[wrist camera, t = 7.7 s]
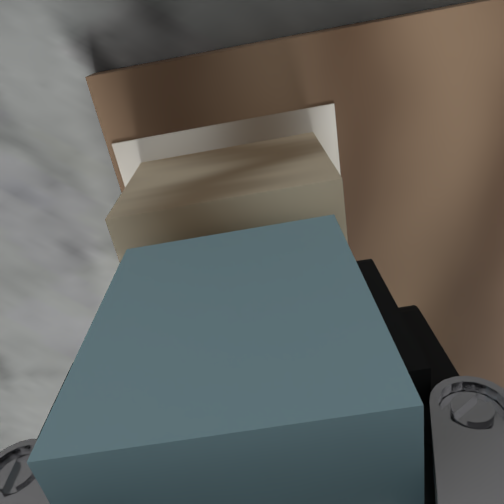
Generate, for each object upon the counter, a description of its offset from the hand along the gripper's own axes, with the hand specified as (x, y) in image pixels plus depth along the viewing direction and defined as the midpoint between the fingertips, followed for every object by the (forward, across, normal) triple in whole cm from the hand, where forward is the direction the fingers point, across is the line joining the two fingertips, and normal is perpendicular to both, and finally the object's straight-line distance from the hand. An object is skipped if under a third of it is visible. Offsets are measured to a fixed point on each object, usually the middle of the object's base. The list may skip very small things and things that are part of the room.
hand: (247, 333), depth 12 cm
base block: (+7, 0, 0) cm, 7 cm away
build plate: (+8, -3, +4) cm, 9 cm away
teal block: (+1, 0, 0) cm, 1 cm away
